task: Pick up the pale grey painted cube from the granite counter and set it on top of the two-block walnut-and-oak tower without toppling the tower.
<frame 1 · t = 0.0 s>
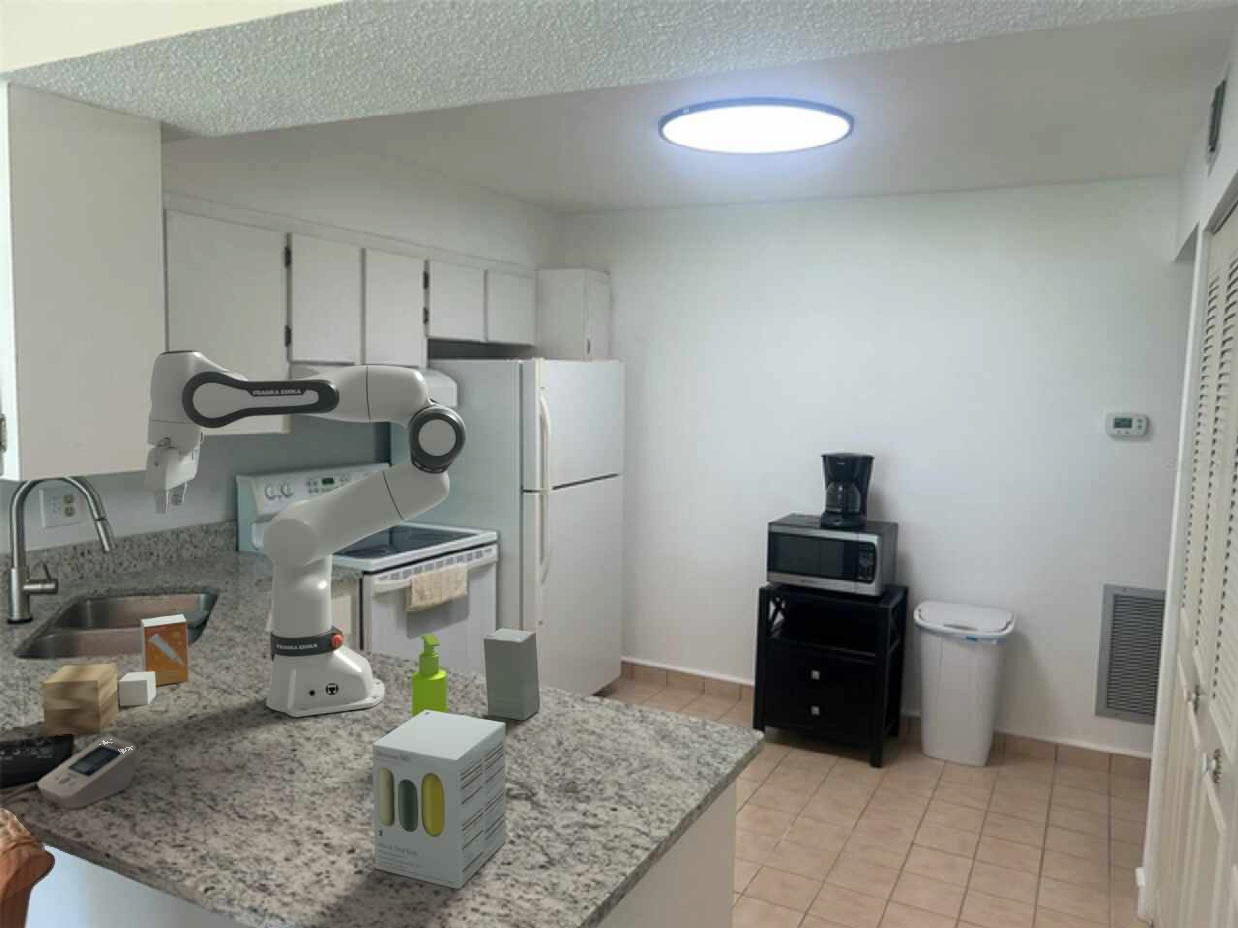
hand: (169, 508, 169), 39 cm above the worktop, tool pointing down, fingers open, 8 cm apart
supplement box: (442, 856, 122), on the worktop
soap dispenser: (431, 748, 156), on the worktop
skincare box: (512, 714, 172), on the worktop
cube: (138, 700, 177), on the worktop
tower top: (81, 699, 164), point 5 cm above the worktop, touching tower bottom
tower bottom: (83, 725, 165), on the worktop, touching tower top
small box: (166, 681, 188), on the worktop
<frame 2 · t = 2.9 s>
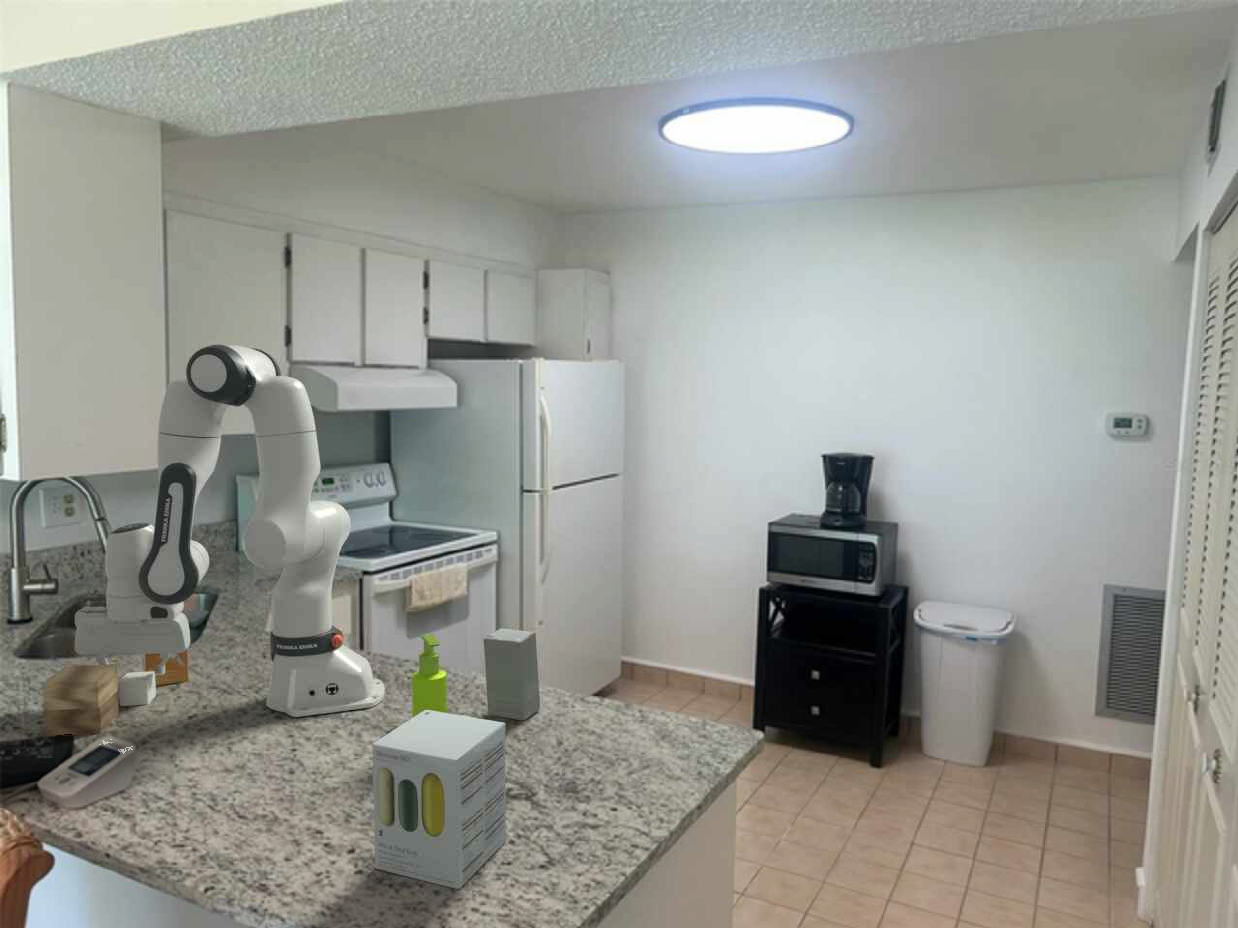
hand: (134, 674, 177), 5 cm above the worktop, tool pointing down, fingers open, 8 cm apart
nothing on the worktop moved.
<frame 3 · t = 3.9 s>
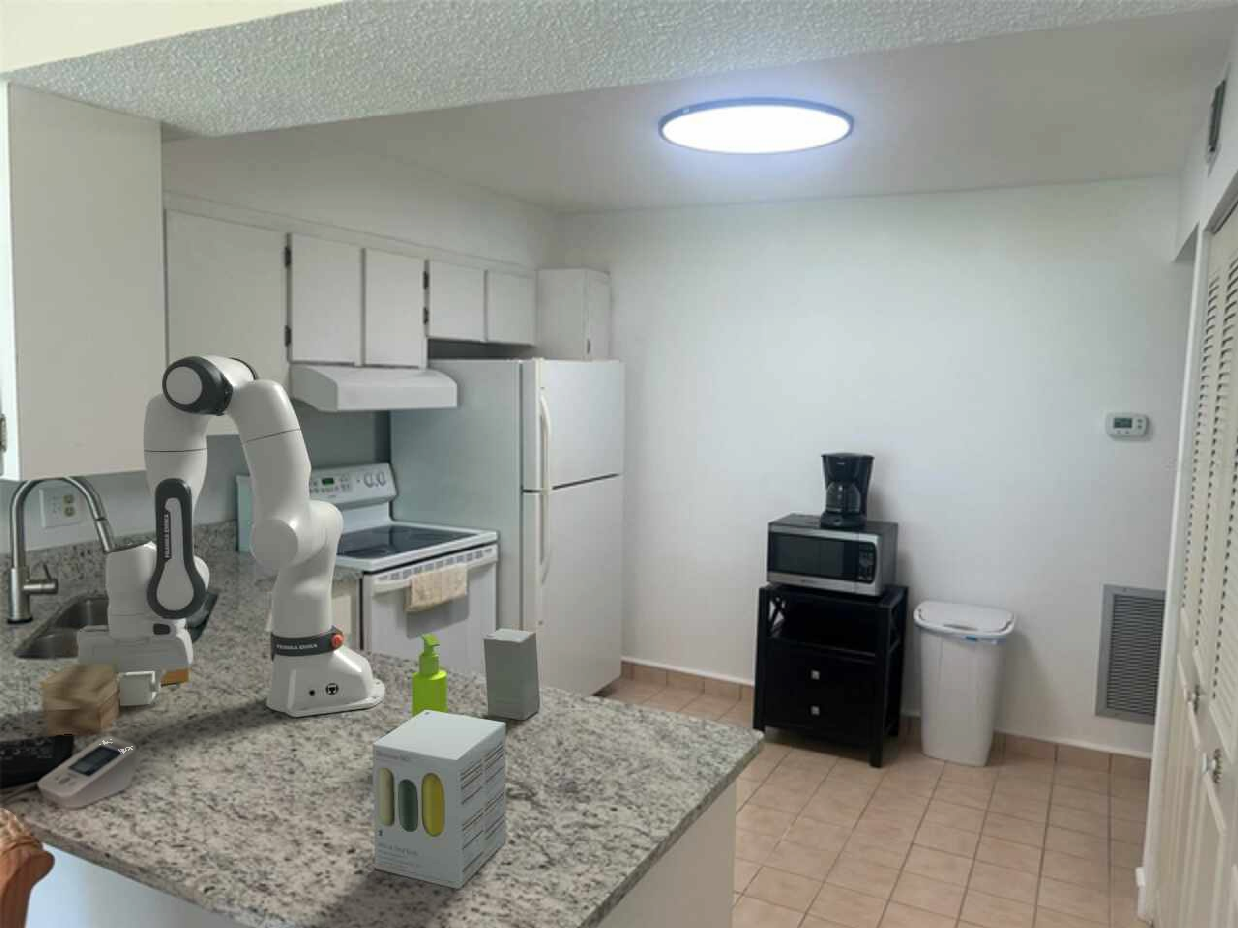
hand: (137, 692, 176), 2 cm above the worktop, tool pointing down, fingers closed on cube, 5 cm apart
cube: (138, 700, 177), on the worktop, touching gripper
tower top: (81, 699, 164), point 5 cm above the worktop
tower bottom: (84, 725, 165), on the worktop
everything else where it was.
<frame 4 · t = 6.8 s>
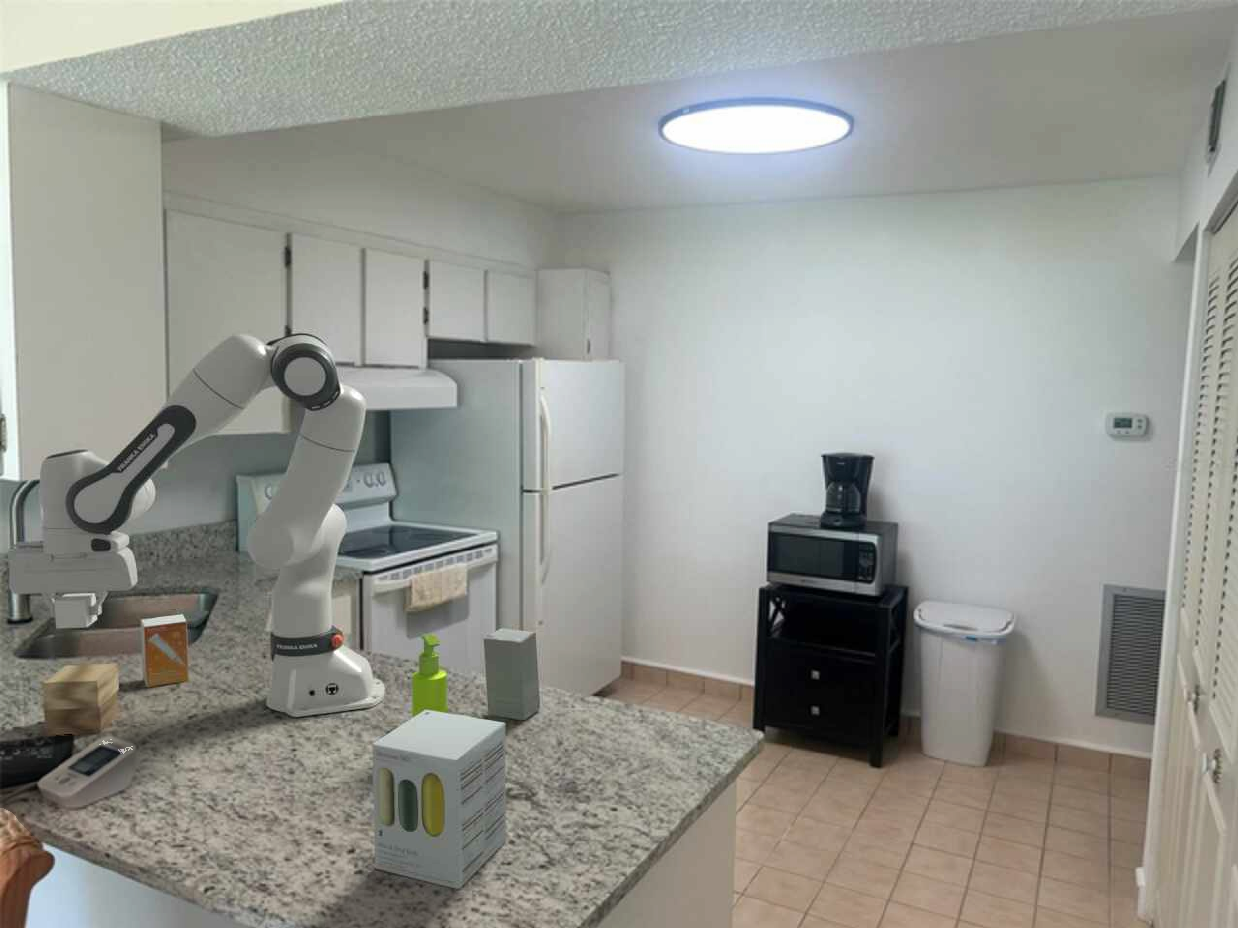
hand: (76, 615, 162), 21 cm above the worktop, tool pointing down, fingers closed on cube, 5 cm apart
cube: (77, 623, 163), point 19 cm above the worktop, touching gripper
tower top: (82, 699, 164), point 5 cm above the worktop, touching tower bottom
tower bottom: (83, 725, 165), on the worktop, touching tower top
everything else where it was.
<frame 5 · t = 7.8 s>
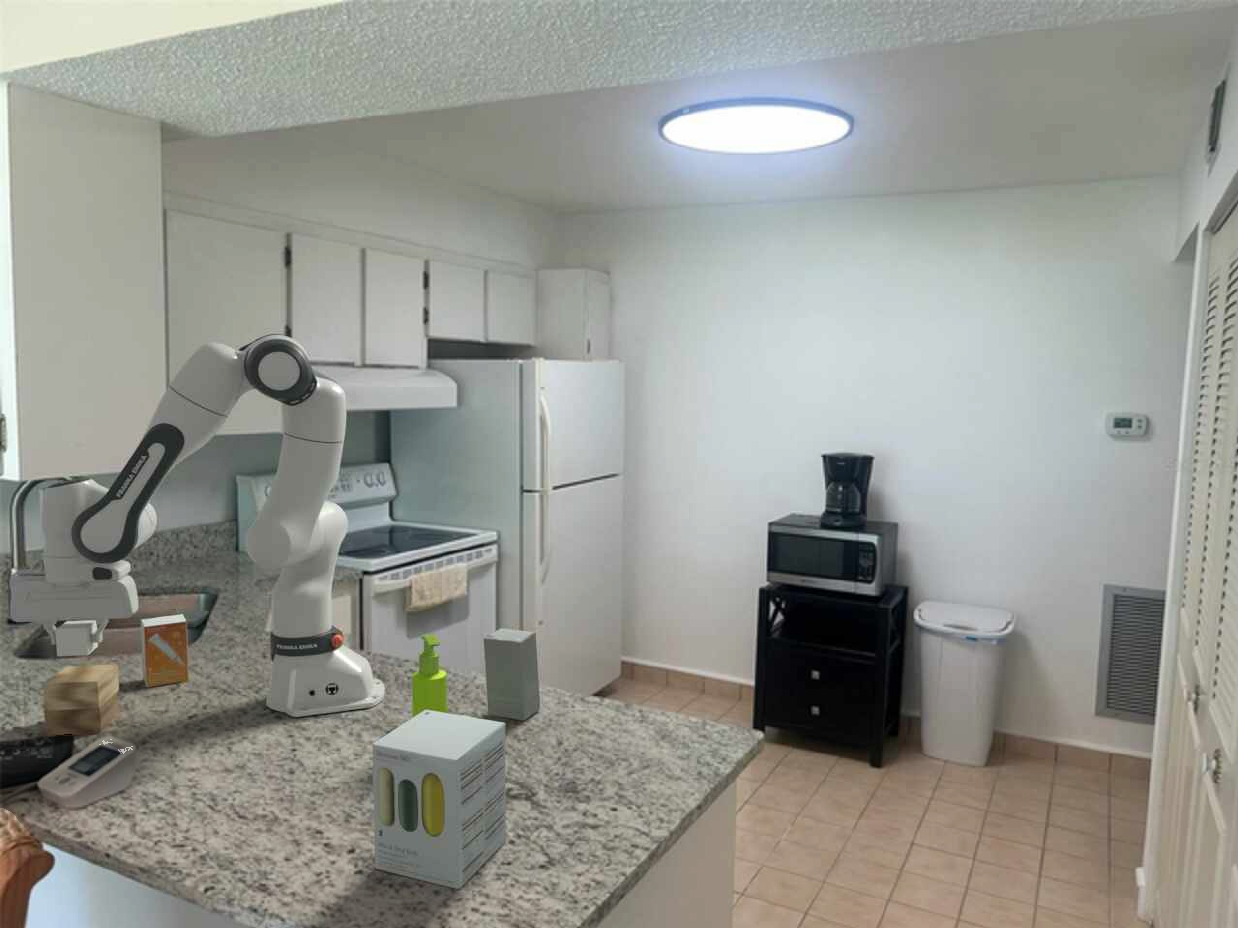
hand: (77, 642, 163), 15 cm above the worktop, tool pointing down, fingers closed on cube, 5 cm apart
cube: (78, 651, 163), point 14 cm above the worktop, touching gripper
everything else where it was.
when the fingers open (13 cm above the worktop, at t = 8.9 s): cube drops 1 cm, resting on tower top.
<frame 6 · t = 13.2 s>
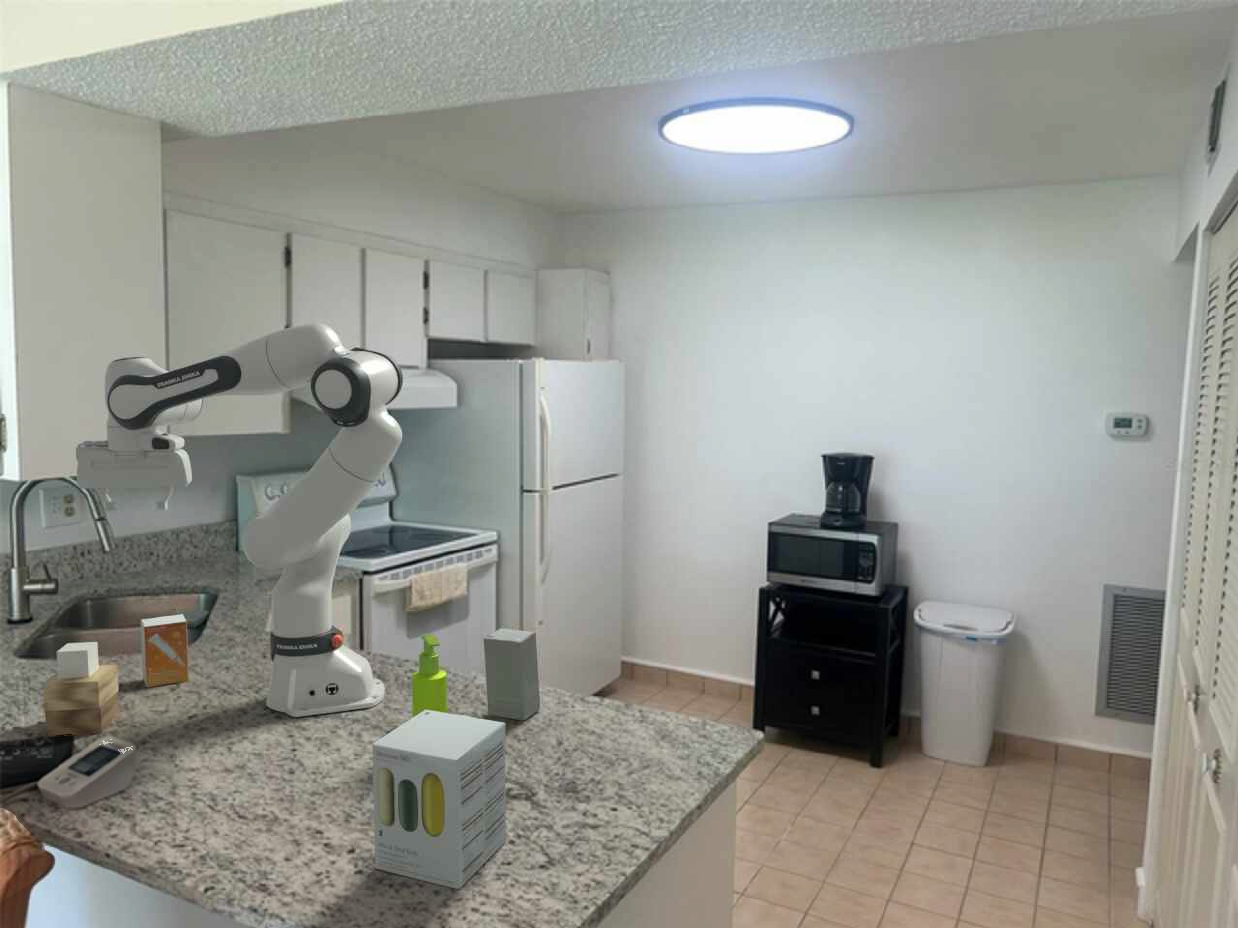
hand: (136, 510, 177), 37 cm above the worktop, tool pointing down, fingers open, 8 cm apart
cube: (78, 673, 164), point 10 cm above the worktop, touching tower top
tower top: (82, 700, 164), point 5 cm above the worktop, touching cube, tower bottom
everything else where it was.
at the end: cube inside the target area on the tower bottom (0.3 cm from its centre), point 10.0 cm above the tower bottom's base; the gripper is holding nothing; tower top 0.3 cm from the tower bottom (horizontally) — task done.
